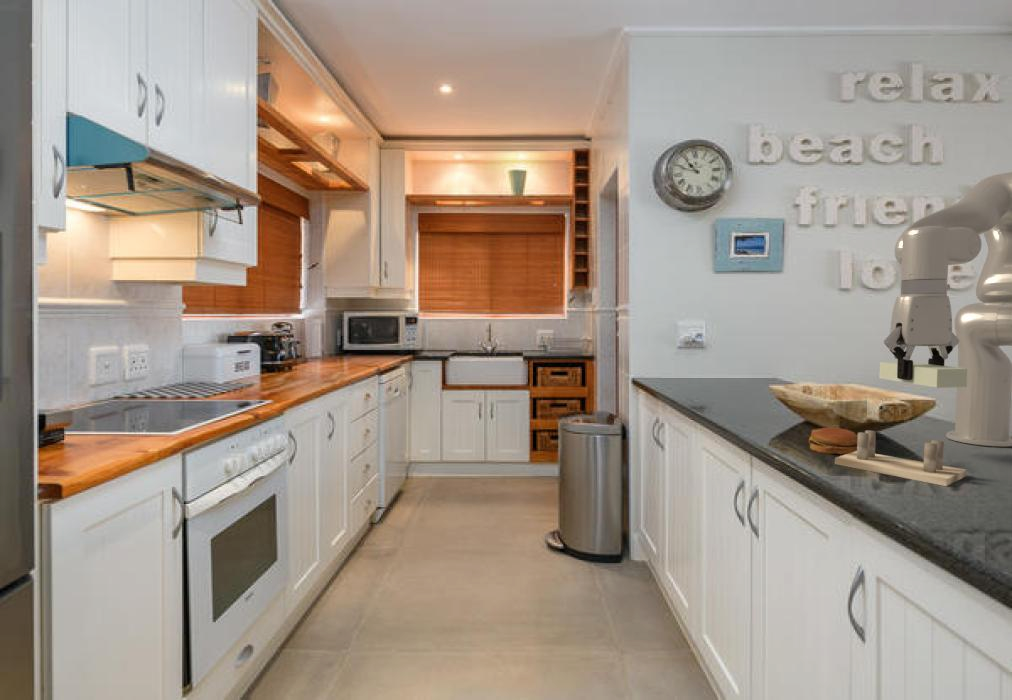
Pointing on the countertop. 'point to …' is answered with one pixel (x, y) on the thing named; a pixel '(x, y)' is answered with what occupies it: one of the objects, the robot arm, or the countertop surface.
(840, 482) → the countertop surface
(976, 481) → the countertop surface
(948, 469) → the peg rack
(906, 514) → the countertop surface
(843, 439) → the burger
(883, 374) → the shelf board
